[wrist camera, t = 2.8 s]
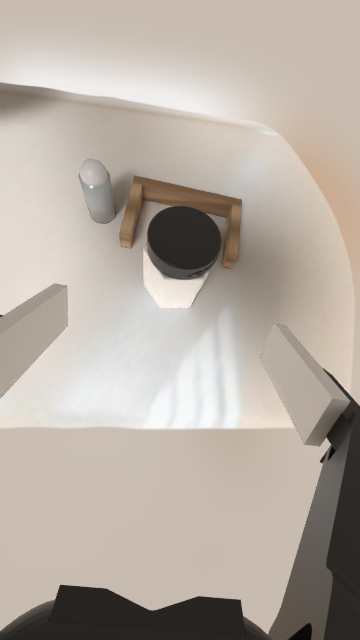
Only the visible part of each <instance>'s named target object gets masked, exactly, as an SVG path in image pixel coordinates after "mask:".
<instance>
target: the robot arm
mask: <svg viewBox="0 0 360 640" xmlns="http://www.w3.org/2000/svg"><path fill="white" fill-rule="evenodd" d="M67 326H68V306H67V286H65V285H60V284H53V285H51V286H50V287H48V288H46V289H45V290H43V291H42V292H40V293H38V294H37V295H35V296H34V297H32V298H31V299H29V300H27V301H26V302H24V303H23V304H21V305H19V306H18V307H16V308H15V309H13V310H11V311H10V312H8V313H7V314H5V315H0V398H1V397H2V396H3V395H4V394H5V393H6V392H7V391H8V390H9V389H10V388H11V386H12V385H13V384H14V383H15V382H16V381H17V380H18V379H19V378H20V377H21V376H22V375H23V374H24V372H25V371H26V370H27V369H28V368H29V367H30V366H31V365H32V364H33V363H34V362H35V361H36V359H37V358H38V357H39V356H40V355H41V354H42V353H43V352H44V351H45V350H46V349H47V348H48V347H49V345H50V344H51V343H52V342H53V341H54V340H55V339H56V338H57V337H58V336H59V335H60V334H61V333H62V331H63V330H64V329H65V328H66V327H67ZM260 359H261V361H262V363H263V365H264V367H265V369H266V371H267V373H268V375H269V377H270V379H271V381H272V383H273V385H274V387H275V389H276V391H277V393H278V394H279V396H280V398H281V400H282V402H283V404H284V406H285V408H286V410H287V412H288V414H289V416H290V418H291V420H292V422H293V424H294V426H295V428H296V430H297V432H298V434H299V435H300V437H301V439H302V441H303V443H304V444H305V445H313V446H321V444H322V442H323V441H324V440H325V438H326V437H327V439H328V440H329V442H330V443H331V446H330V447H329V449H328V450H327V452H326V453H325V455H324V456H323V457H322V459H321V460H320V462H321V463H323V462H324V463H323V467H322V470H321V473H320V477H319V480H318V483H317V487H316V490H315V494H314V497H313V500H312V504H311V507H310V511H309V514H308V517H307V521H306V524H305V527H304V531H303V534H302V538H301V541H300V544H299V548H298V551H297V555H296V558H295V561H294V565H293V568H292V571H291V575H290V578H289V582H288V585H287V588H286V592H285V595H284V599H283V602H282V605H281V608H280V611H279V613H278V616H277V618H276V620H275V621H274V623H273V625H272V627H271V629H270V631H269V634H268V635H267V634H266V633H265V632H264V631H263V630H262V629H261V628H259V627H258V626H257V625H256V624H254V623H253V622H251V621H250V620H248V619H247V618H245V617H244V616H243V614H242V607H241V600H236V599H224V598H212V597H200V596H198V597H195V598H192V599H189V600H186V601H183V602H180V603H177V604H174V605H171V606H167V607H165V608H162V609H159V610H154V611H151V610H148V609H146V608H144V607H142V606H140V605H138V604H136V603H134V602H132V601H129V600H128V599H126V598H124V597H122V596H120V595H118V594H116V593H114V592H112V591H110V590H108V589H104V588H92V587H91V588H90V587H80V586H68V585H60V587H59V590H58V593H57V596H56V599H55V600H52V601H49V602H46V603H44V604H41V605H39V606H37V607H35V608H33V609H31V610H30V611H28V612H26V613H24V614H23V615H21V616H19V617H18V618H17V619H15V620H14V621H13V622H12V623H10V624H9V625H7V626H6V627H5V628H4V629H2V630H1V631H0V640H360V406H359V405H358V404H357V403H356V402H355V401H354V399H353V398H352V397H351V396H350V395H349V394H348V392H347V391H346V390H344V388H343V387H342V386H341V385H340V384H339V382H338V381H337V380H336V379H335V378H334V377H333V375H331V374H330V373H329V372H327V371H326V370H325V369H323V368H321V366H320V365H319V364H318V363H317V362H316V361H315V359H314V358H313V357H312V356H311V355H310V354H309V352H308V351H307V350H306V349H305V348H304V347H303V345H302V344H301V343H300V342H299V341H298V340H297V338H296V337H295V336H294V335H293V334H292V333H291V331H290V330H289V329H288V328H287V327H286V326H285V325H280V324H275V323H274V325H273V328H272V330H271V332H270V335H269V337H268V340H267V342H266V345H265V347H264V350H263V352H262V354H261V357H260Z"/></svg>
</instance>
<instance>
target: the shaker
mask: <svg viewBox="0 0 360 640" xmlns="http://www.w3.org/2000/svg"><path fill="white" fill-rule="evenodd" d="M79 179H80V182H81V186H82V189H83V192H84V196H85V199H86V202H87V206H88V209H89V212H90V216H91V218H92V219H93V220H94V221H95V222H97V223H102V224H105V223H109V222H111V221H112V220H113V219H114V218H115V207H114V201H113V194H112V188H111V182H110V175H109V173H108V171H107V170H106V168H105V166H104V165H103V164H102V163H101V162H100V161H98V160H96V159H87V160H85V161H84V162H83V163H82V165H81V167H80V173H79Z"/></svg>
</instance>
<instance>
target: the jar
mask: <svg viewBox="0 0 360 640" xmlns="http://www.w3.org/2000/svg"><path fill="white" fill-rule="evenodd" d="M220 249H221V234H220V231H219V229H218V227H217V225H216V223H215V222H214V221H213V220H212V219H211V218H210V217H209V216H208V215H207V214H205V213H204V212H202V211H200V210H198V209H196V208H193V207H188V206H173V207H169V208H166V209H164V210H162V211H160V212H159V213H158V214H156V215H155V216H154V218H153V219H152V220H151V222H150V224H149V227H148V232H147V244H146V246H145V247H144V249H143V283H144V286H145V288H146V289H147V291H148V292H149V294H150V295H151V297H152V298H153V300H154V301H155V303H156V304H157V306H158V307H159V308H160V309H163V308H190V307H191V305H192V303H193V301H194V299H195V297H196V295H197V293H198V292H199V291H200V289H201V287H202V286H203V284H204V282H205V280H206V278H207V276H208V274H209V270H210V268H211V267H212V265H213V264H214V263H215V261H216V259H217V257H218V254H219V252H220Z"/></svg>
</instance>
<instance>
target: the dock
mask: <svg viewBox="0 0 360 640" xmlns="http://www.w3.org/2000/svg"><path fill="white" fill-rule="evenodd" d="M142 199H143V200H148V201H152V202H157V203H162V204H166V205H171V206H188V207H193V208H196V209H198V210H200V211H202V212H204V213H208V214H212V215H217V216H222V217H226V218H227V221H226V232H225V243H224V254H223V266H222V267H227V268H232V266H233V265H234V263H235V262H236V260H237V259H238V250H239V235H240V220H241V204H242V200H241V199H236V198H232V197H228V196H223V195H219V194H214V193H210V192H205V191H201V190H196V189H192V188H188V187H183V186H179V185H174V184H170V183H165V182H161V181H156V180H152V179H148V178H143V177H139V176H134V180H133V184H132V188H131V191H130V195H129V199H128V203H127V207H126V210H125V214H124V218H123V222H122V226H121V230H120V233H119V236H120V242H121V247H126V248H131V245H132V241H133V237H134V232H135V228H136V224H137V220H138V216H139V211H140V207H141V203H142Z"/></svg>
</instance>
